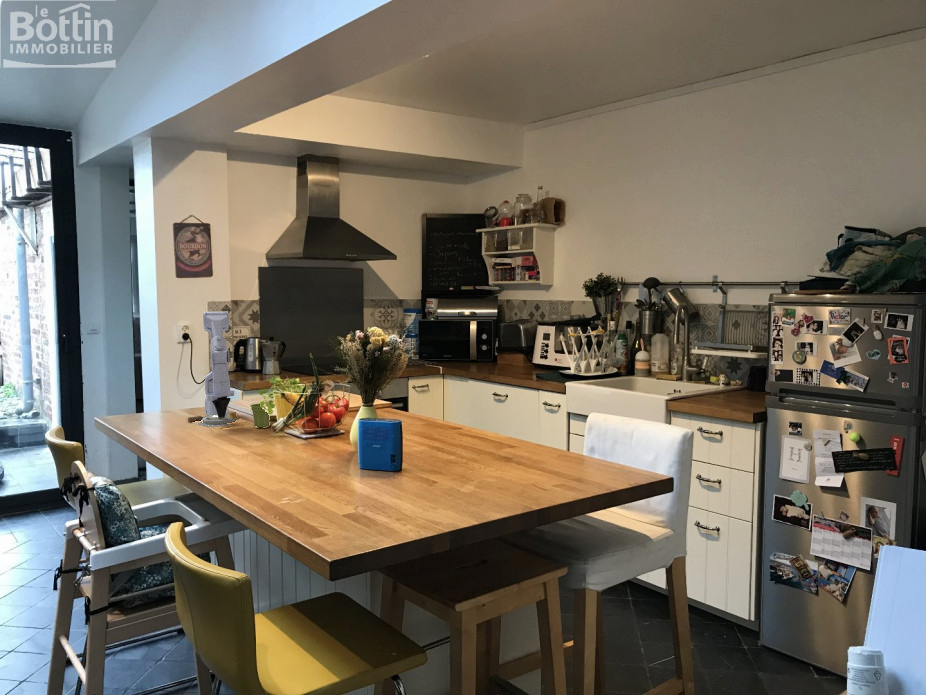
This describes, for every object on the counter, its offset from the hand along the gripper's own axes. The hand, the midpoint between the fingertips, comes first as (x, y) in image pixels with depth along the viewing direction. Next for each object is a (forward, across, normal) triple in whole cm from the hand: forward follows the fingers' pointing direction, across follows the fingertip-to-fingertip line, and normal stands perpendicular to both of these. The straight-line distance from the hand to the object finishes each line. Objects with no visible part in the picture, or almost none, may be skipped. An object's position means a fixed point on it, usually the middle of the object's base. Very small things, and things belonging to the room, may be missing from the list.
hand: (221, 416), depth 285 cm
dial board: (+4, +6, +5) cm, 9 cm away
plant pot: (+4, +4, -16) cm, 17 cm away
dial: (+3, +5, +2) cm, 6 cm away
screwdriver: (+3, +7, +13) cm, 15 cm away
